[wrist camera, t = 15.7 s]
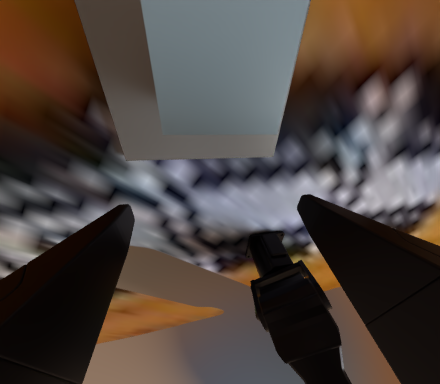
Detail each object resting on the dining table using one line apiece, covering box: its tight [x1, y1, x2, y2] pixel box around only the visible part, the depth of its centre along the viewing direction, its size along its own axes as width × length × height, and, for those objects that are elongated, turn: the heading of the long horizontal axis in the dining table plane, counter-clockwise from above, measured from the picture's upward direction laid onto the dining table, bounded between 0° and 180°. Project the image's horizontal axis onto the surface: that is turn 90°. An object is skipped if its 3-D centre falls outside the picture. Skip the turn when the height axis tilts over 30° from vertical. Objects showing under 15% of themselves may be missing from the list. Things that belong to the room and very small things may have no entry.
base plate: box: [74, 0, 311, 161], centre depth 13 cm, size 16×16×1 cm
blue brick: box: [141, 0, 309, 135], centre depth 6 cm, size 6×4×5 cm
